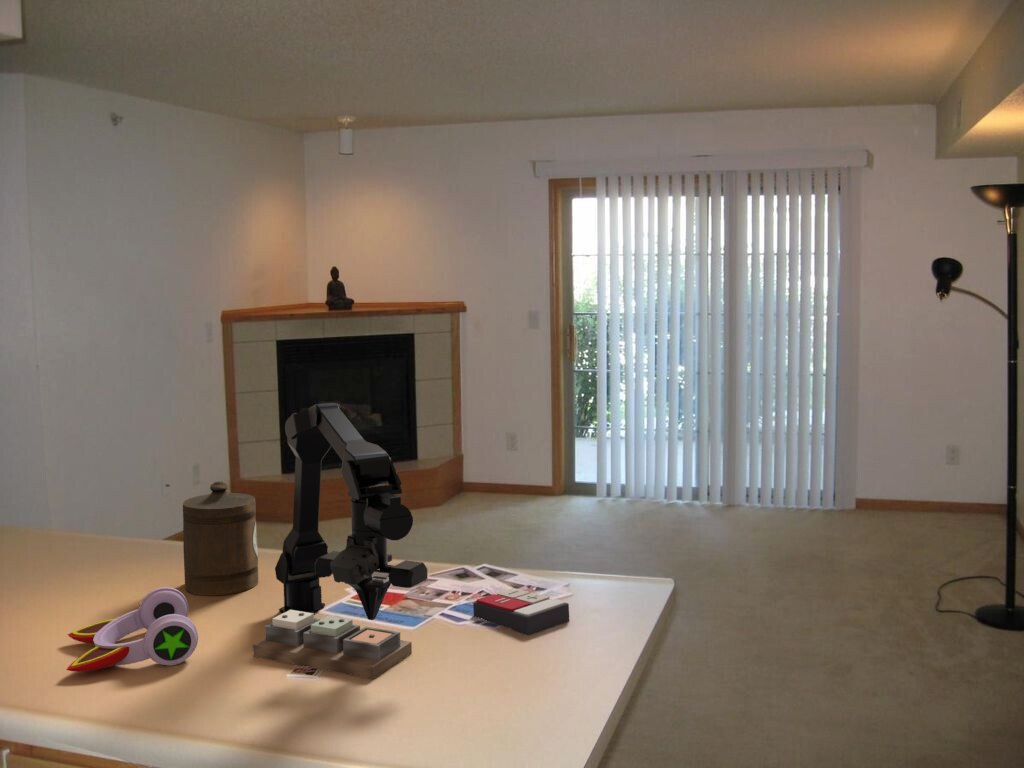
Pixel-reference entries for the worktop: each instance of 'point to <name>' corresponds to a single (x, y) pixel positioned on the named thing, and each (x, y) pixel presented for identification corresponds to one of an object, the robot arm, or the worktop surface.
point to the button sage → (331, 626)
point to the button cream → (293, 619)
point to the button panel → (333, 650)
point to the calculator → (522, 611)
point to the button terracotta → (372, 636)
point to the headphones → (163, 640)
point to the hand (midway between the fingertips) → (371, 619)
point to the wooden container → (220, 542)
